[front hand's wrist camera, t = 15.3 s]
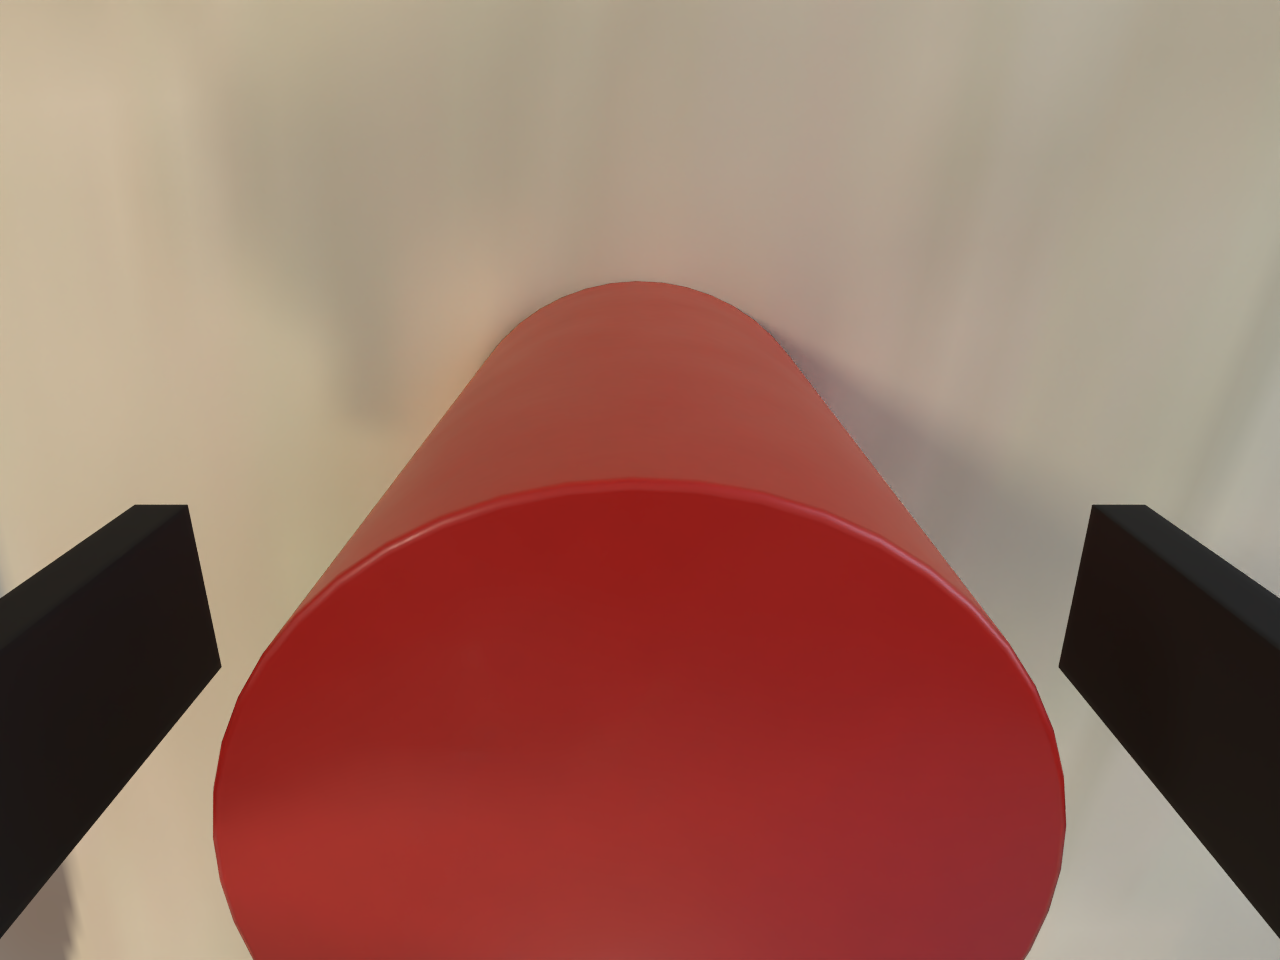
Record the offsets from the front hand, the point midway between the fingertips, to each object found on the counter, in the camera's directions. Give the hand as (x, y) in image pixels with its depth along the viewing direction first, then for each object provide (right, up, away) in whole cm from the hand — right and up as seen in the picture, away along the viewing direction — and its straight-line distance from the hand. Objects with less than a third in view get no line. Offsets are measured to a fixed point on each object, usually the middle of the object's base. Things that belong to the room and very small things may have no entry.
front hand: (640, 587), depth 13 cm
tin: (0, +2, +5) cm, 6 cm away
